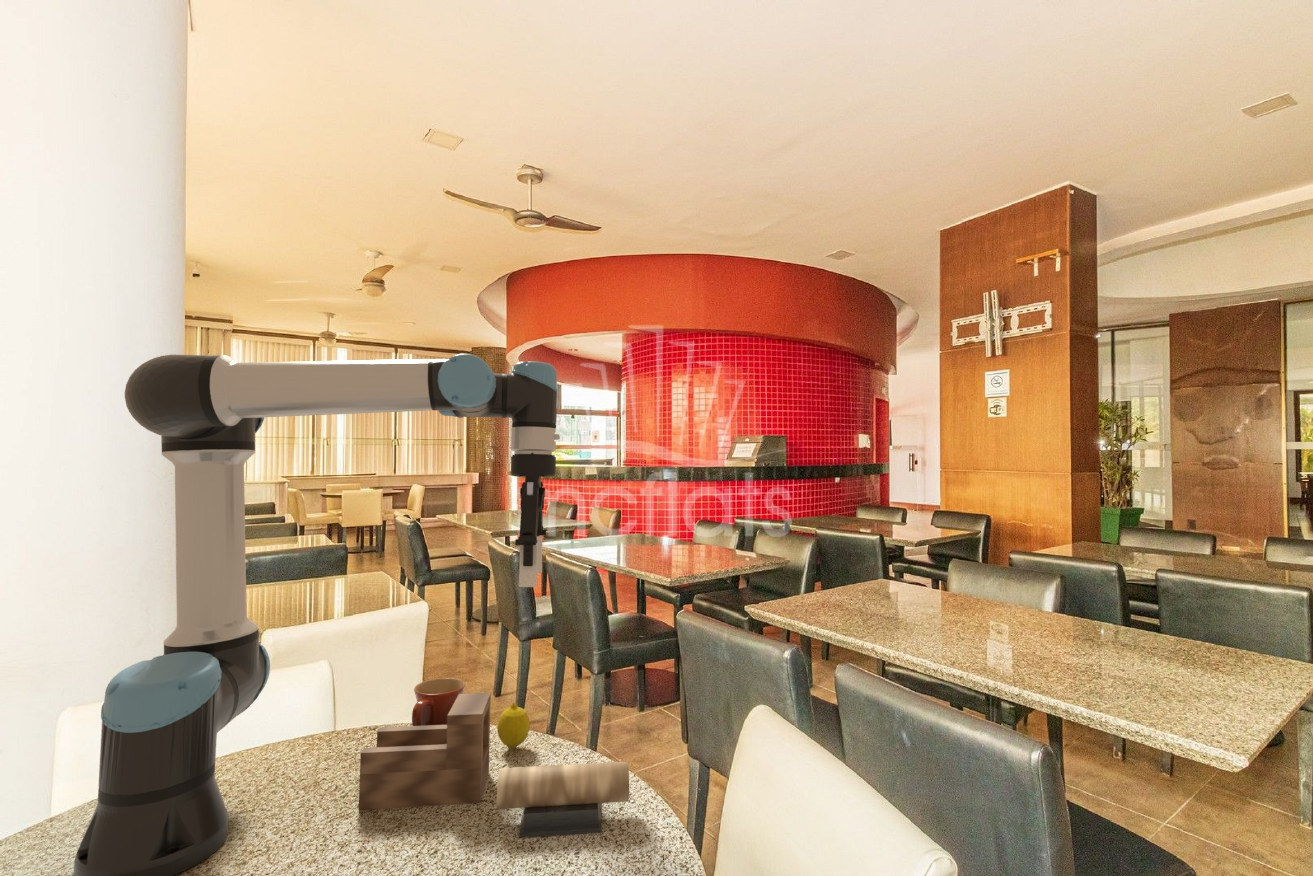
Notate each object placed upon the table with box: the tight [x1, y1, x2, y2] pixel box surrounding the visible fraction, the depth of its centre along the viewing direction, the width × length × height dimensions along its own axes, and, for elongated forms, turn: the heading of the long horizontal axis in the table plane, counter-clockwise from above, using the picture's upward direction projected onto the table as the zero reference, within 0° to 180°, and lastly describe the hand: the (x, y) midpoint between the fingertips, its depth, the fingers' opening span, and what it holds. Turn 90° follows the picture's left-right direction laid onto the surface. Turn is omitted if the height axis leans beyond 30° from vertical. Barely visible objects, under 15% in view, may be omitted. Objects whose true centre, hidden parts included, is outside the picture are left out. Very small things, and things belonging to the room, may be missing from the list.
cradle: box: [518, 803, 603, 839], centre depth 86 cm, size 11×8×3 cm
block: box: [358, 692, 492, 811], centre depth 94 cm, size 17×9×13 cm, turn 97°
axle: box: [496, 761, 630, 810], centre depth 87 cm, size 18×5×5 cm, turn 97°
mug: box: [411, 677, 466, 726], centre depth 108 cm, size 12×9×10 cm
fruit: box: [496, 702, 531, 751], centre depth 108 cm, size 6×6×8 cm
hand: (531, 579), depth 103 cm, fingers open, 13 cm apart
